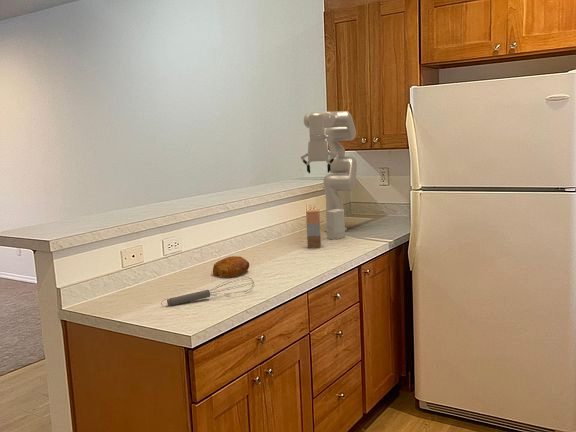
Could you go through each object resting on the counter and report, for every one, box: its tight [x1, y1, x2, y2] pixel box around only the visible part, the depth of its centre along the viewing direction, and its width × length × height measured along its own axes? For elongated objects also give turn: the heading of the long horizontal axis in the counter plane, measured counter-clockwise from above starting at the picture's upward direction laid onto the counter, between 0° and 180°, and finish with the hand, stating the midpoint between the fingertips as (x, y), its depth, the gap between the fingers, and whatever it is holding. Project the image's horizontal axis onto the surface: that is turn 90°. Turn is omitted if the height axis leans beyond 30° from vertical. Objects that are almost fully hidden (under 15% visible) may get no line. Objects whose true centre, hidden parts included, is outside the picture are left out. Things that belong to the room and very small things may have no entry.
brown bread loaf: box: [212, 255, 250, 279], centre depth 237 cm, size 14×16×8 cm
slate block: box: [306, 222, 321, 237], centre depth 280 cm, size 6×6×6 cm
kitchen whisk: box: [160, 276, 255, 307], centre depth 202 cm, size 6×34×6 cm, turn 115°
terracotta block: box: [305, 209, 321, 225], centre depth 279 cm, size 6×6×6 cm
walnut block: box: [306, 235, 322, 249], centre depth 281 cm, size 6×6×6 cm
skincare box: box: [325, 209, 346, 241], centre depth 300 cm, size 8×6×15 cm
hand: (318, 172), depth 289 cm, fingers open, 9 cm apart
